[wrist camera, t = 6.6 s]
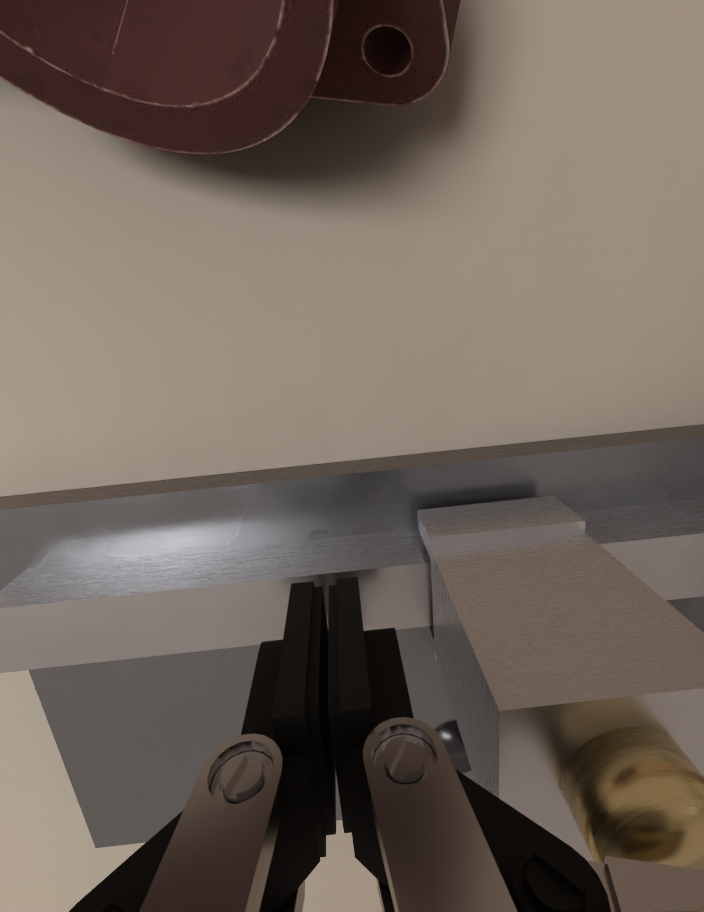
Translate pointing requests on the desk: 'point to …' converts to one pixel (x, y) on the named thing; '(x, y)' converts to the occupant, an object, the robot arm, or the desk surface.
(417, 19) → the bracket
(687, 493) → the bolt plate and beam
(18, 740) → the desk surface
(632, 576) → the sliding leg
